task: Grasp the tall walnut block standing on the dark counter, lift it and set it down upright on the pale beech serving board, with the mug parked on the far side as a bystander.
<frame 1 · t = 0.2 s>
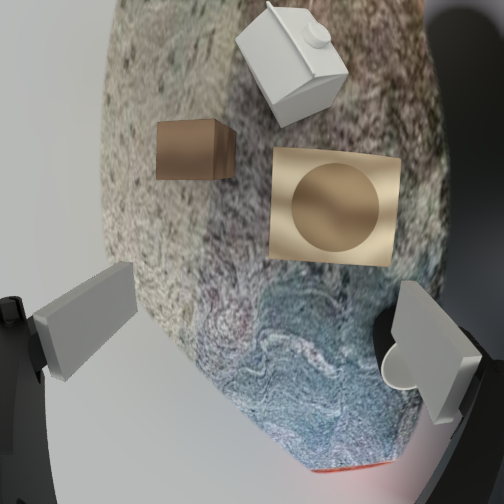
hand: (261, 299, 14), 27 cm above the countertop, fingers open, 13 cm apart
board: (334, 206, 39), on the countertop
block: (213, 154, 39), on the countertop
mug: (394, 315, 42), on the countertop
milk carton: (293, 94, 36), on the countertop
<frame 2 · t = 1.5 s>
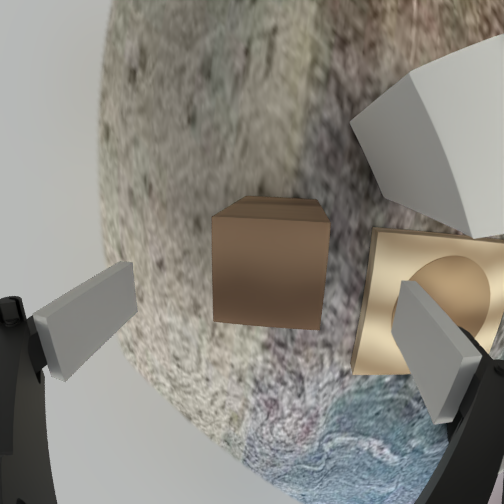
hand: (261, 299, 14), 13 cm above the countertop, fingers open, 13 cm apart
board: (436, 303, 26), on the countertop
block: (280, 232, 27), on the countertop
milk carton: (400, 145, 23), on the countertop
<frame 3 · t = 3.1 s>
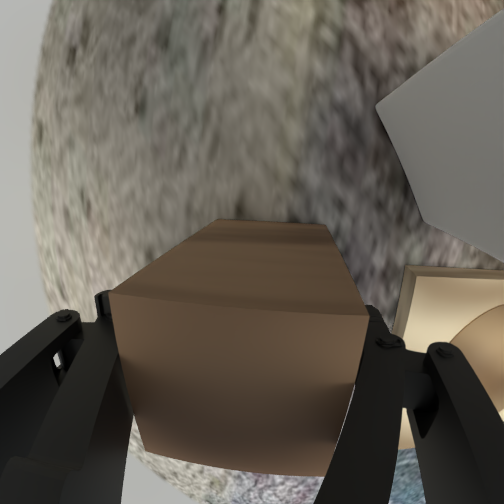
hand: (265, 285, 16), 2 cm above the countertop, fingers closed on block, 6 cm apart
board: (476, 359, 17), on the countertop
block: (268, 273, 18), on the countertop, touching gripper
milk carton: (447, 143, 15), on the countertop
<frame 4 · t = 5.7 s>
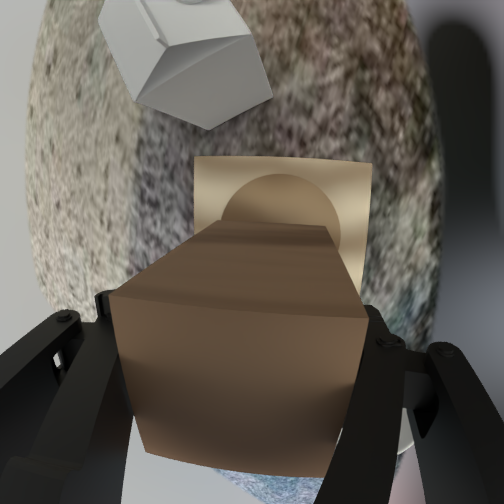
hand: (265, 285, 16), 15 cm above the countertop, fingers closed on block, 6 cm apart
board: (280, 230, 30), on the countertop
block: (268, 274, 18), point 13 cm above the countertop, touching gripper
mug: (366, 364, 33), on the countertop
milk carton: (225, 85, 27), on the countertop
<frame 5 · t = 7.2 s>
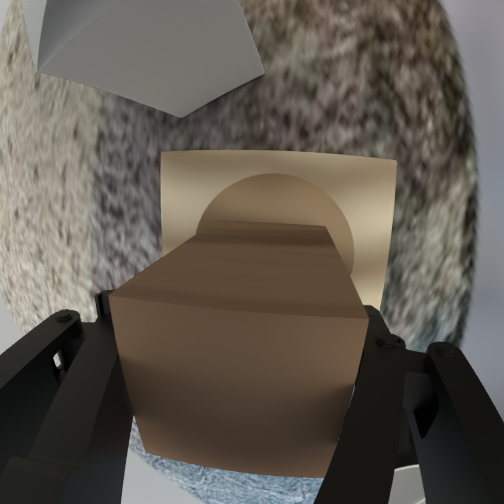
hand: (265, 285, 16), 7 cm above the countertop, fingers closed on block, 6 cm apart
board: (274, 248, 23), on the countertop
block: (268, 274, 18), point 5 cm above the countertop, touching gripper
mug: (377, 404, 26), on the countertop
milk carton: (203, 60, 20), on the countertop
when the fingers open (5 cm above the countertop, at t = 8.2 s): block stays where it is, resting on board.
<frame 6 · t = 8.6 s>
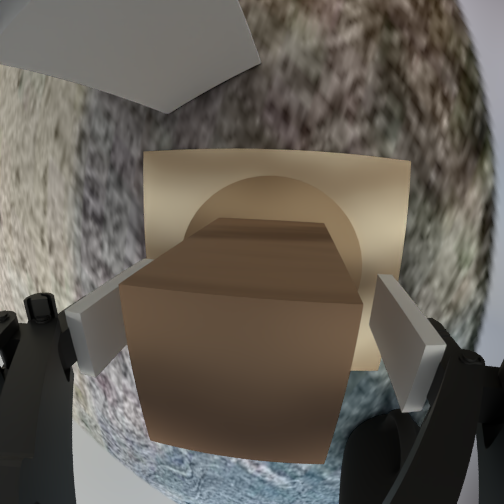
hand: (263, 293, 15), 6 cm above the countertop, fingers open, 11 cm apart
board: (272, 260, 20), on the countertop
block: (268, 270, 18), point 2 cm above the countertop, touching board
mug: (382, 423, 23), on the countertop
milk carton: (193, 50, 18), on the countertop
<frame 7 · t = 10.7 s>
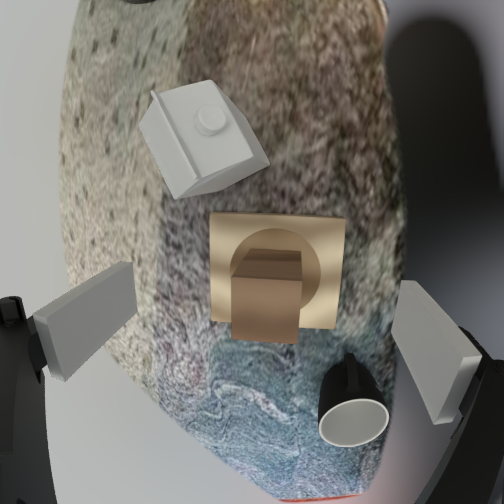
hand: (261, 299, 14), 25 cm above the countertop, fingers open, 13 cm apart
board: (276, 269, 39), on the countertop
block: (274, 274, 37), point 2 cm above the countertop, touching board
mug: (345, 370, 42), on the countertop
milk carton: (232, 152, 37), on the countertop
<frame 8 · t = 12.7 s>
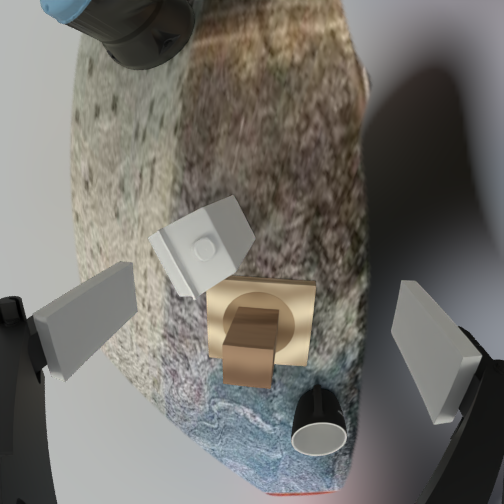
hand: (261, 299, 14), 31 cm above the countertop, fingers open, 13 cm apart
board: (260, 319, 48), on the countertop
block: (258, 325, 46), point 2 cm above the countertop, touching board
mug: (317, 394, 51), on the countertop
milk carton: (224, 226, 46), on the countertop
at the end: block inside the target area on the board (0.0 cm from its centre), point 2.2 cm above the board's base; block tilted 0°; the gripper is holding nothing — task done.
